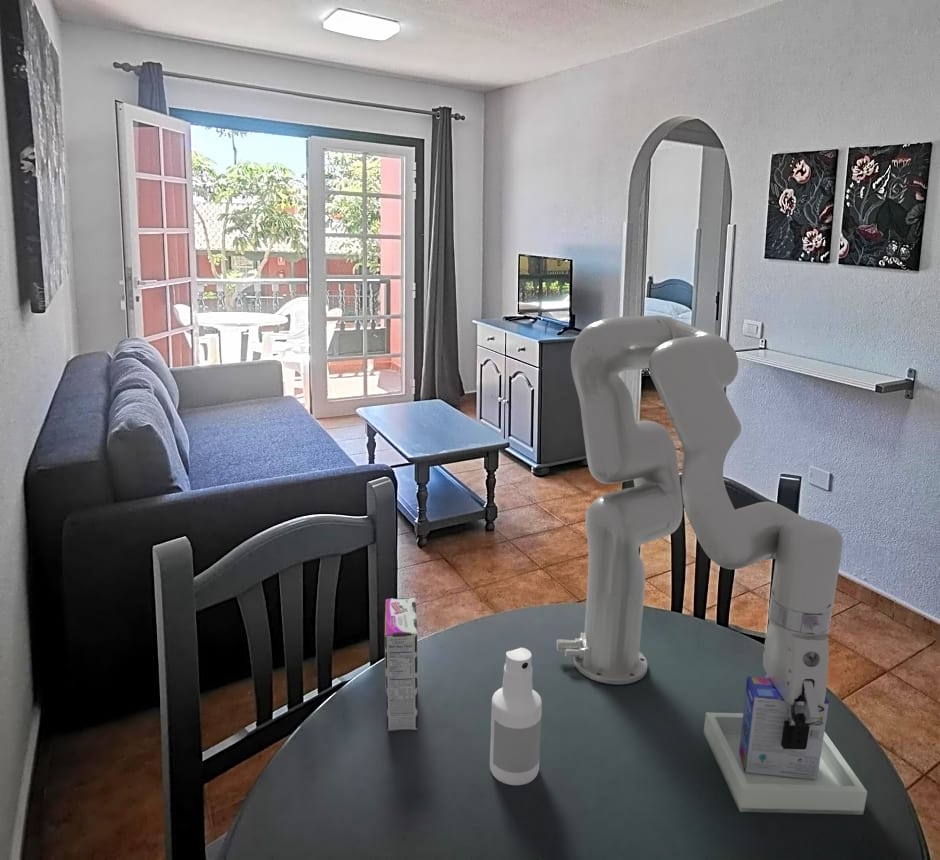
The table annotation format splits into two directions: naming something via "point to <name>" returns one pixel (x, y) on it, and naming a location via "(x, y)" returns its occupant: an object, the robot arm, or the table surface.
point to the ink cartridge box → (776, 734)
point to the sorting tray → (783, 777)
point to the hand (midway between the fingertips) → (782, 729)
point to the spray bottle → (516, 722)
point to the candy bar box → (401, 664)
